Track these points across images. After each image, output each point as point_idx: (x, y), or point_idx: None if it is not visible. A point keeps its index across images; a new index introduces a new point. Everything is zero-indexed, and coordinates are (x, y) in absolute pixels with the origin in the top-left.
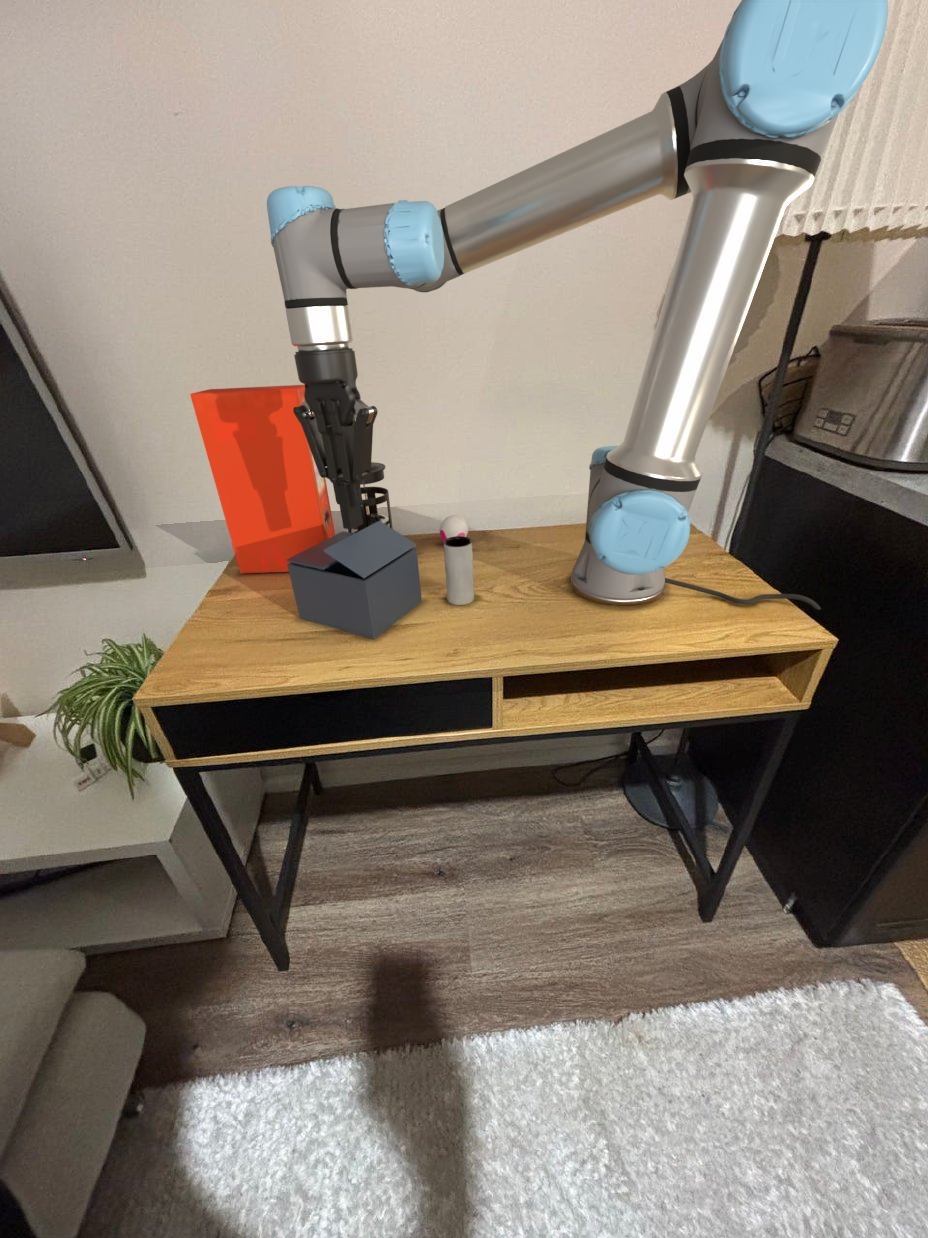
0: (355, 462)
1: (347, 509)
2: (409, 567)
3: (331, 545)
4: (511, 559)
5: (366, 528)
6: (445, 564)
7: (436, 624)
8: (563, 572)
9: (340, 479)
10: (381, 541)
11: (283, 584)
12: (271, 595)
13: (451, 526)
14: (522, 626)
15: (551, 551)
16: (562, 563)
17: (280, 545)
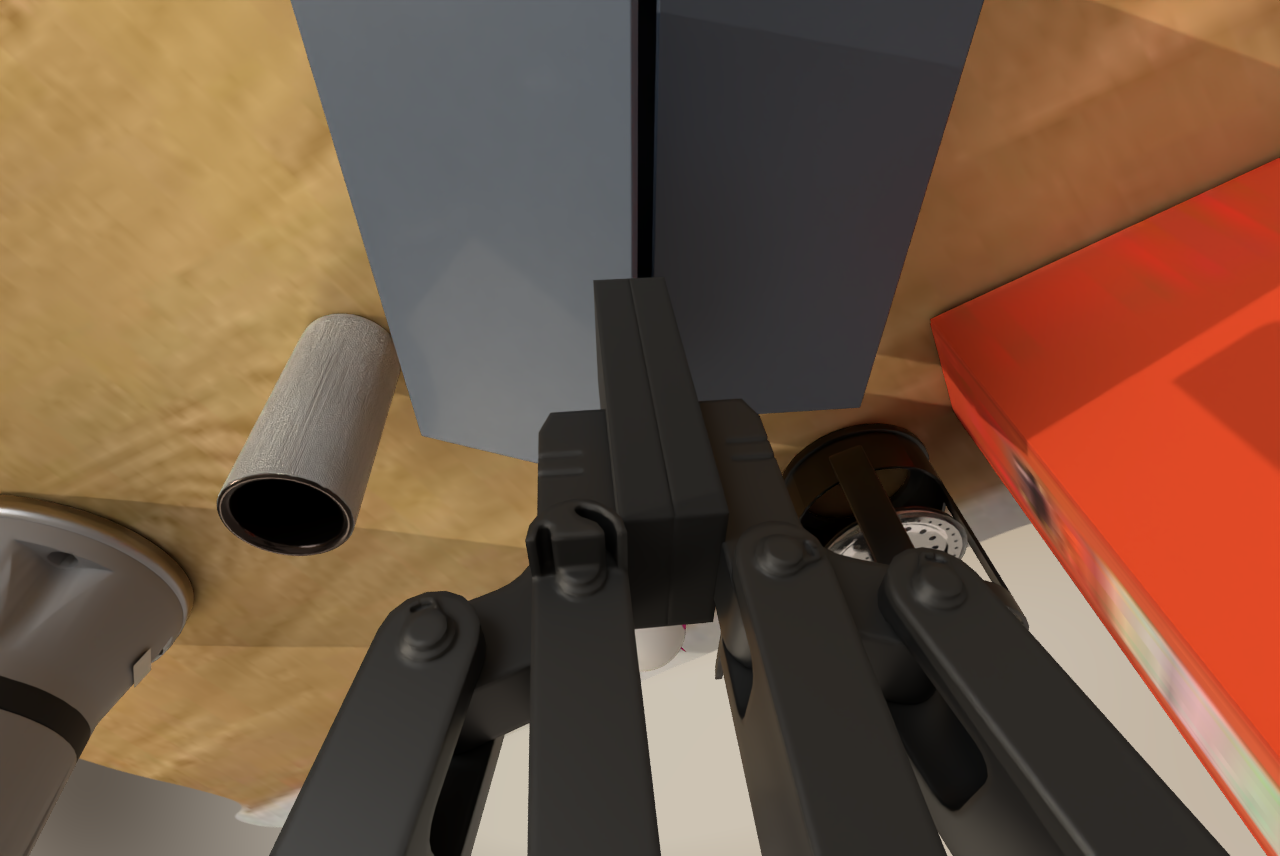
0: (367, 831)
1: (608, 366)
2: None
3: (819, 257)
4: (419, 579)
5: None
6: (339, 415)
7: (270, 166)
8: (236, 578)
9: (726, 587)
10: (505, 349)
11: (1075, 151)
12: (1091, 42)
13: None
14: (14, 294)
15: (360, 639)
16: (281, 608)
17: (1186, 297)
